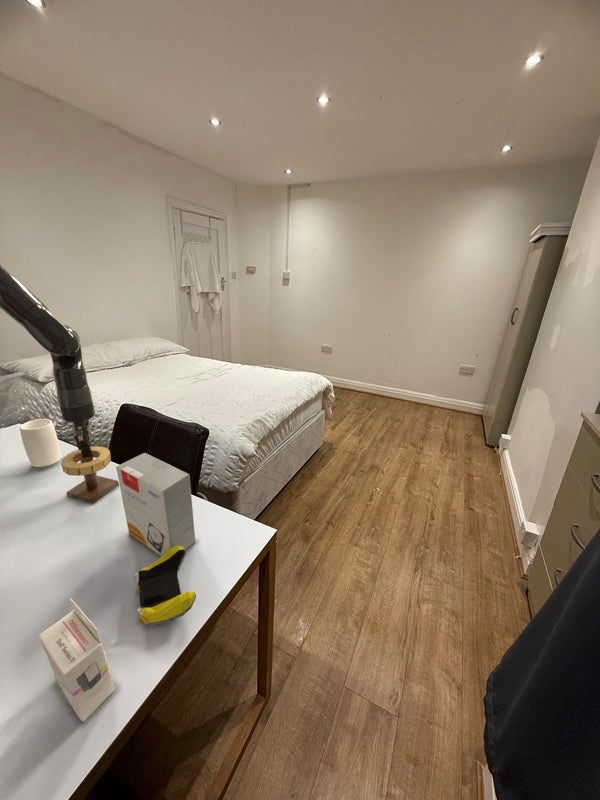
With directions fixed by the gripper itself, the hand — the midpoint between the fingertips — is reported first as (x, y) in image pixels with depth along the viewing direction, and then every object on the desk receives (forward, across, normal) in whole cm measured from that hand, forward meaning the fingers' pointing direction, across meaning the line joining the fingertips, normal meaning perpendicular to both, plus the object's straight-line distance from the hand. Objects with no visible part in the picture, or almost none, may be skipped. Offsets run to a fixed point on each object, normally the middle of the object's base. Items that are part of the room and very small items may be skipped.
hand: (88, 456), depth 93 cm
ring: (0, +4, 0) cm, 4 cm away
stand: (+9, +4, 0) cm, 10 cm away
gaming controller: (+9, +48, +14) cm, 50 cm away
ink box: (+9, +58, 0) cm, 59 cm away
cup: (+9, -18, -13) cm, 24 cm away
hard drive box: (+9, +32, +15) cm, 36 cm away
